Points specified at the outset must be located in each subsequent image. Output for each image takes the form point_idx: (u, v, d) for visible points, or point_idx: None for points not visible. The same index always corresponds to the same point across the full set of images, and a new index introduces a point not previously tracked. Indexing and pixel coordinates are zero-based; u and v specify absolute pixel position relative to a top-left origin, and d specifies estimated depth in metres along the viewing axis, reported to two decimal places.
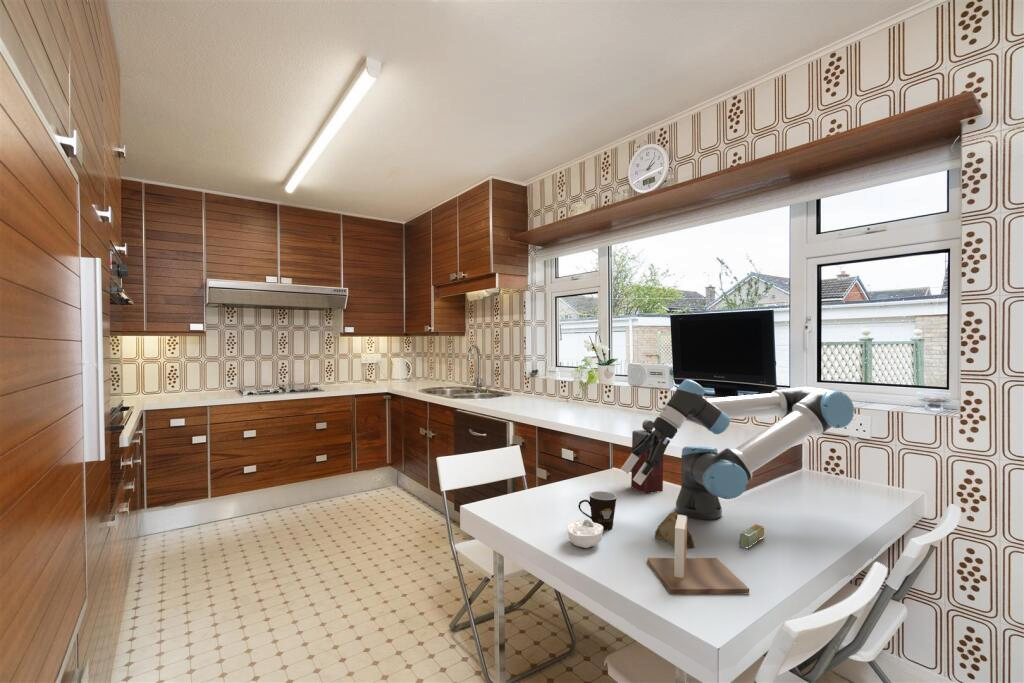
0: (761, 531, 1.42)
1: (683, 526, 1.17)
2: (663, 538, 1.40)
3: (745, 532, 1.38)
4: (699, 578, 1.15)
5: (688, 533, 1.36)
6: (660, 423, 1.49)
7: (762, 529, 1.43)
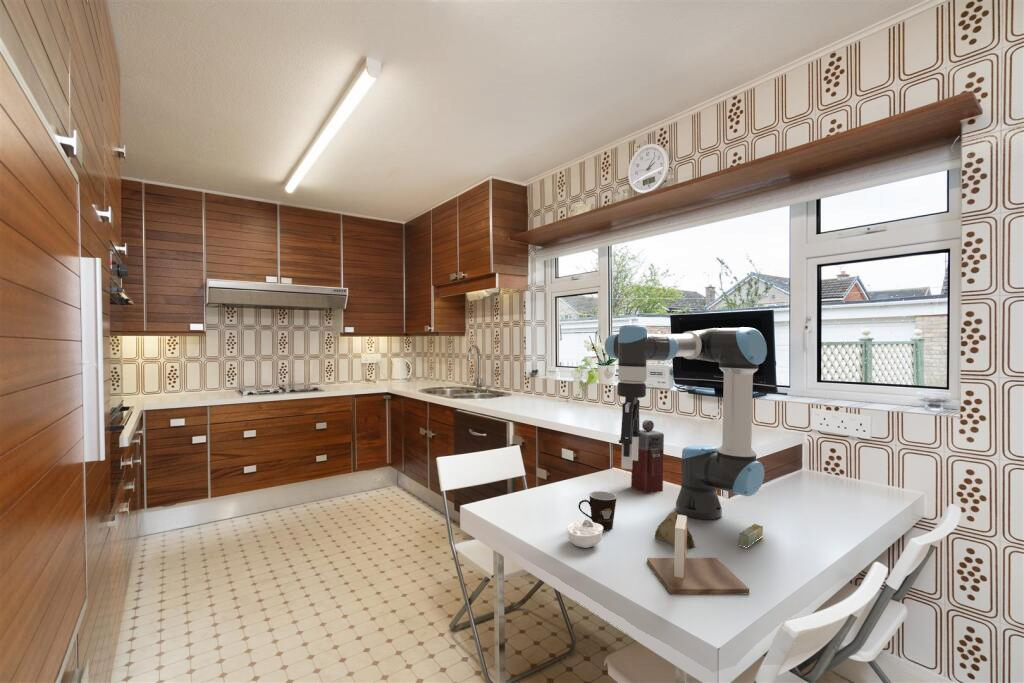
0: (760, 530, 1.43)
1: (683, 526, 1.17)
2: (663, 538, 1.40)
3: (744, 532, 1.38)
4: (699, 578, 1.15)
5: (688, 533, 1.36)
6: (619, 389, 1.27)
7: (761, 529, 1.43)
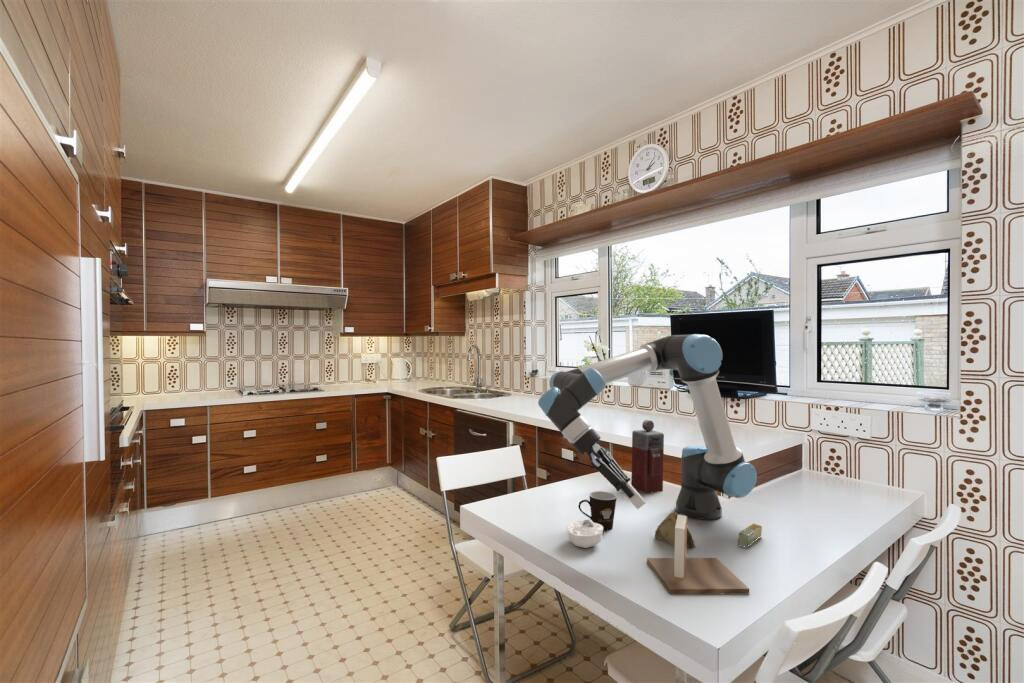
0: (759, 530, 1.43)
1: (683, 526, 1.17)
2: (663, 538, 1.40)
3: (744, 531, 1.39)
4: (699, 578, 1.15)
5: (688, 533, 1.36)
6: (576, 449, 1.28)
7: (760, 528, 1.43)
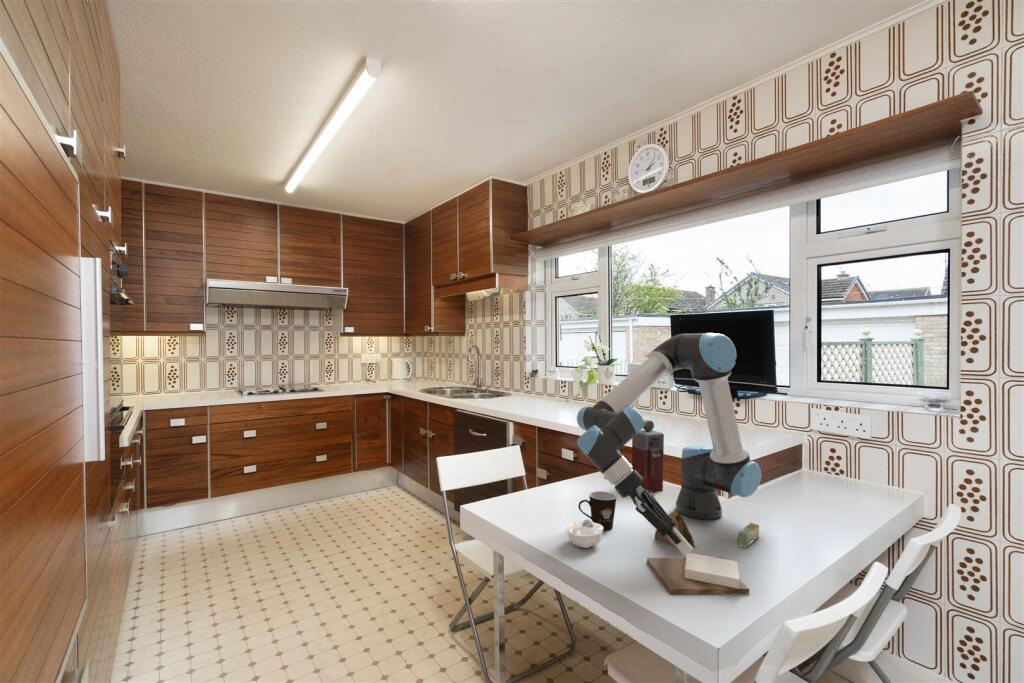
0: (757, 529, 1.43)
1: None
2: (663, 538, 1.40)
3: (743, 531, 1.39)
4: None
5: (688, 533, 1.36)
6: (619, 492, 1.24)
7: (757, 527, 1.44)
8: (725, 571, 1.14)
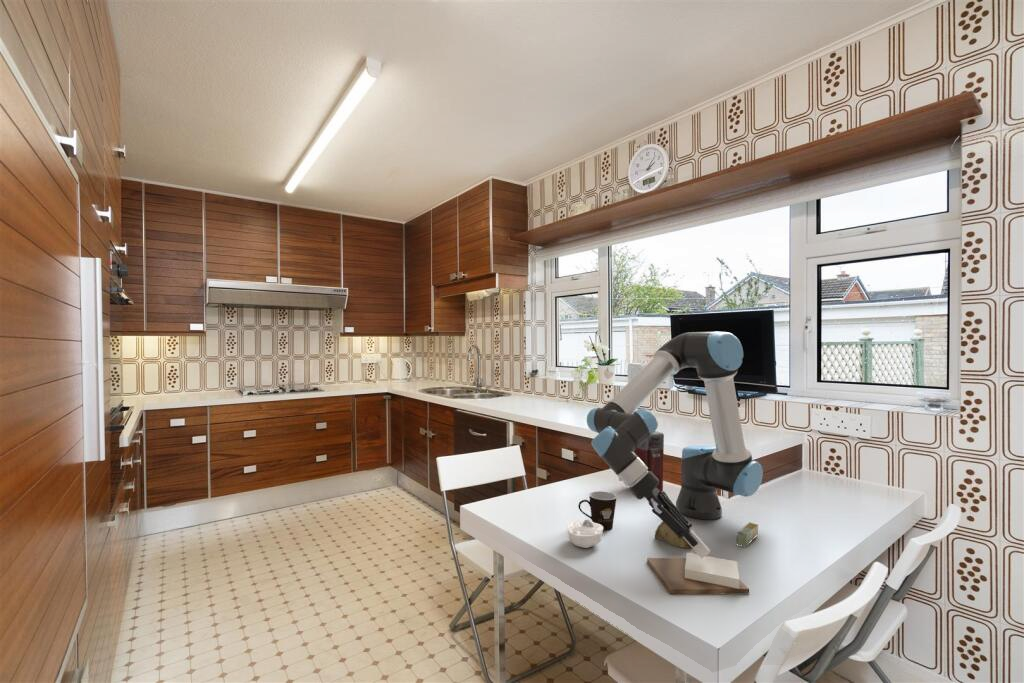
0: (756, 529, 1.44)
1: None
2: (663, 538, 1.40)
3: (742, 531, 1.39)
4: None
5: None
6: (634, 494, 1.22)
7: (756, 527, 1.44)
8: (725, 571, 1.14)
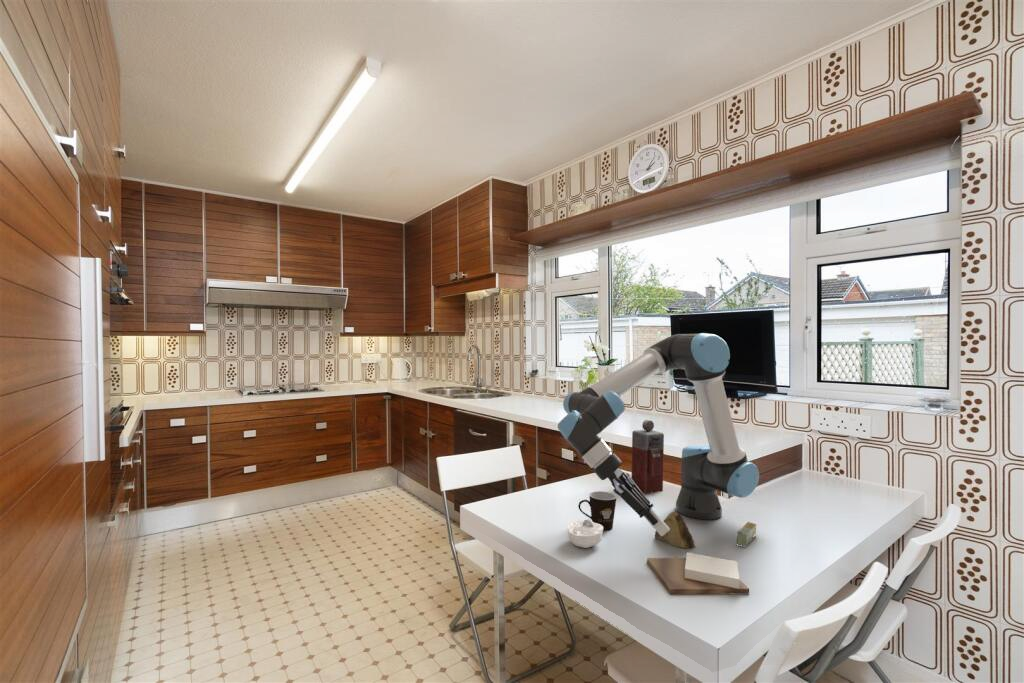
0: (754, 528, 1.44)
1: None
2: (663, 538, 1.40)
3: (742, 531, 1.39)
4: None
5: (688, 533, 1.36)
6: (598, 475, 1.26)
7: (755, 526, 1.44)
8: (725, 571, 1.14)
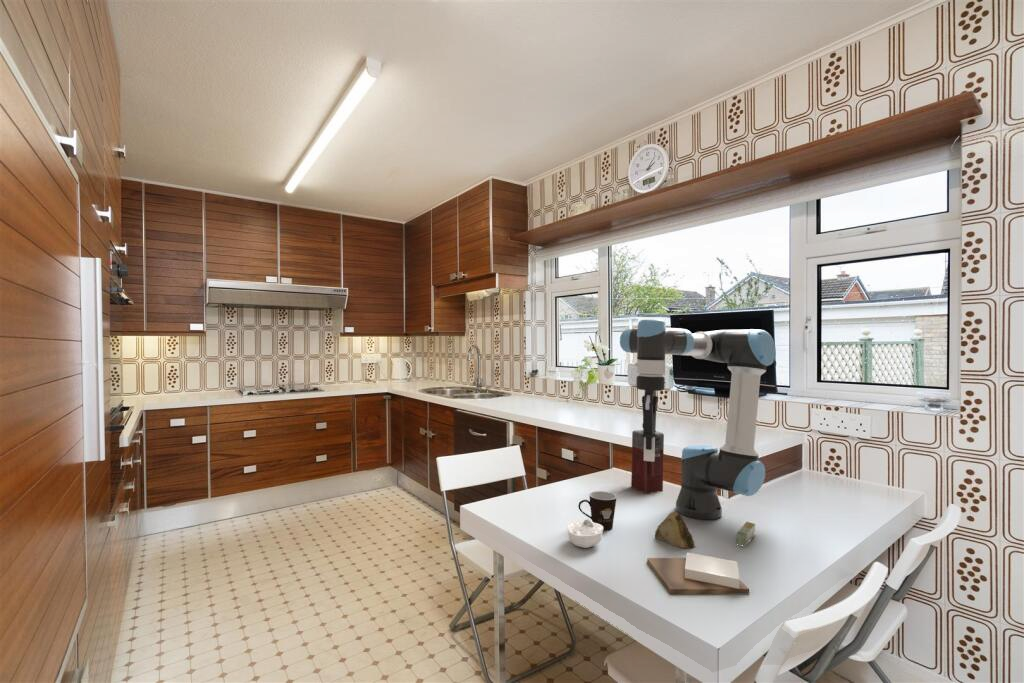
0: (753, 528, 1.44)
1: None
2: (663, 538, 1.40)
3: (741, 531, 1.39)
4: None
5: (688, 533, 1.36)
6: (638, 382, 1.29)
7: (754, 526, 1.45)
8: (725, 571, 1.14)
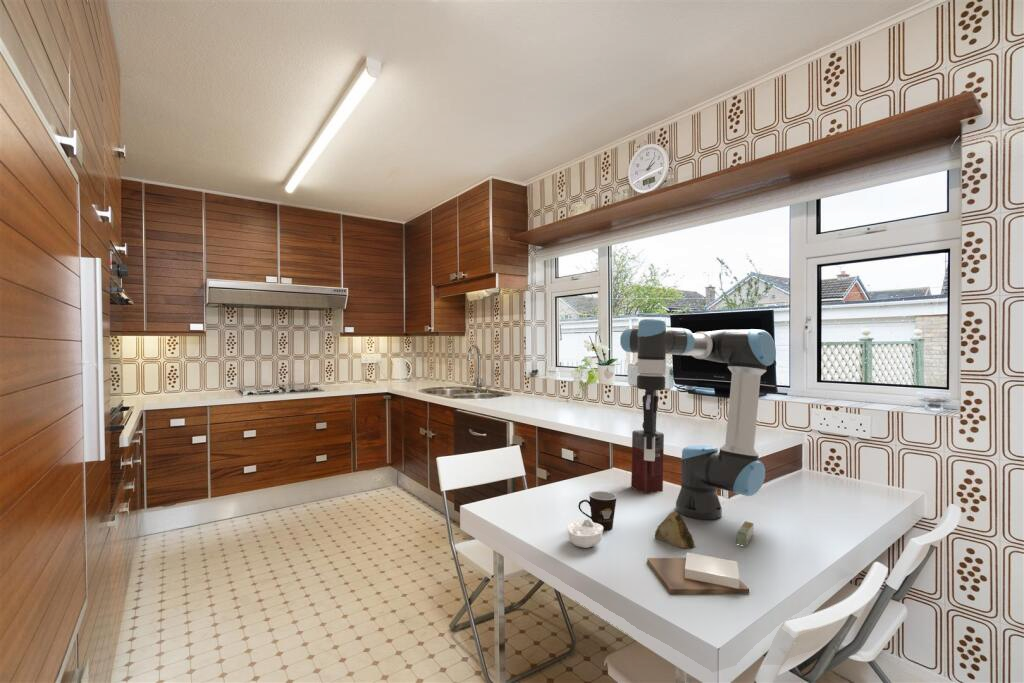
0: (752, 528, 1.45)
1: None
2: (663, 538, 1.40)
3: (741, 530, 1.39)
4: None
5: (688, 533, 1.36)
6: (638, 382, 1.29)
7: (752, 526, 1.45)
8: (725, 571, 1.14)
